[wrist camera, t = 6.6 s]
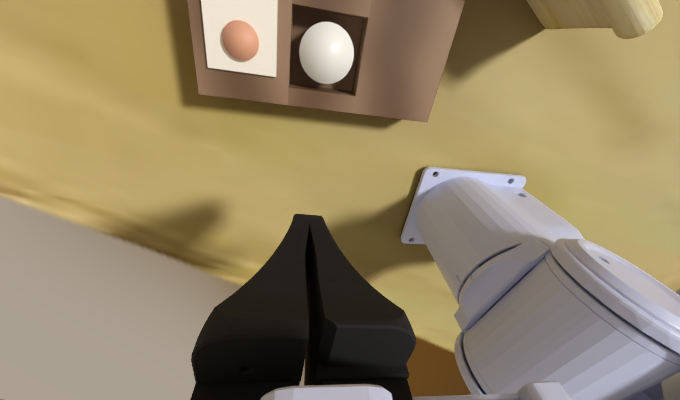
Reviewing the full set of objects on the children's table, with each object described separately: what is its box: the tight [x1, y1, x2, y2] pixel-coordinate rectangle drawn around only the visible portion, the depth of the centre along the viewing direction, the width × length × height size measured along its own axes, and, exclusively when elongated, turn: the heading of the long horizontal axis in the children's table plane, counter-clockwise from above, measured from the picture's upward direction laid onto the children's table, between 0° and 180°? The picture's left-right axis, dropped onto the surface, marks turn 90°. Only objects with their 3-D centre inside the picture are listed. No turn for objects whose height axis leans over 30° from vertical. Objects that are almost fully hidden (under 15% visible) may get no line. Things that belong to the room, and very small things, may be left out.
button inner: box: [299, 22, 354, 84], centre depth 15 cm, size 3×3×2 cm
